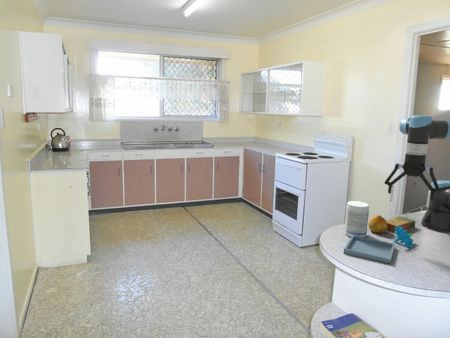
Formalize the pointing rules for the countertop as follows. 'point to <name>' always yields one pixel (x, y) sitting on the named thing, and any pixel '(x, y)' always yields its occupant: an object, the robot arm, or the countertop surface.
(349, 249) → the tray
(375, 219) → the fruit
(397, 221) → the carton
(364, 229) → the supplement tub
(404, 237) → the gear
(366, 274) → the countertop surface
